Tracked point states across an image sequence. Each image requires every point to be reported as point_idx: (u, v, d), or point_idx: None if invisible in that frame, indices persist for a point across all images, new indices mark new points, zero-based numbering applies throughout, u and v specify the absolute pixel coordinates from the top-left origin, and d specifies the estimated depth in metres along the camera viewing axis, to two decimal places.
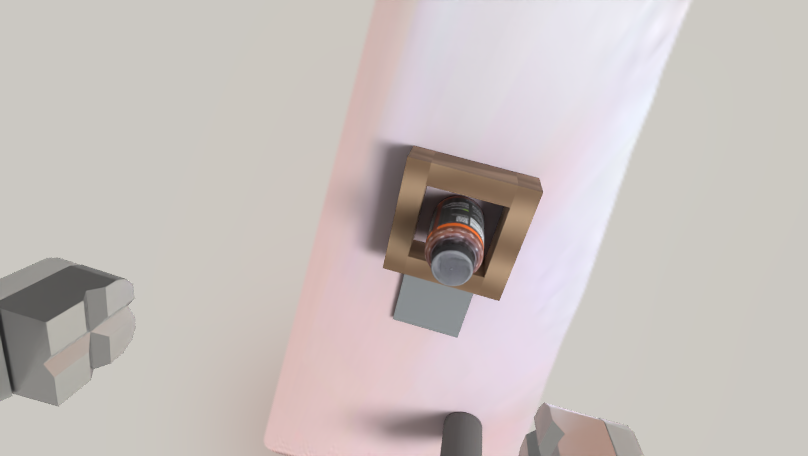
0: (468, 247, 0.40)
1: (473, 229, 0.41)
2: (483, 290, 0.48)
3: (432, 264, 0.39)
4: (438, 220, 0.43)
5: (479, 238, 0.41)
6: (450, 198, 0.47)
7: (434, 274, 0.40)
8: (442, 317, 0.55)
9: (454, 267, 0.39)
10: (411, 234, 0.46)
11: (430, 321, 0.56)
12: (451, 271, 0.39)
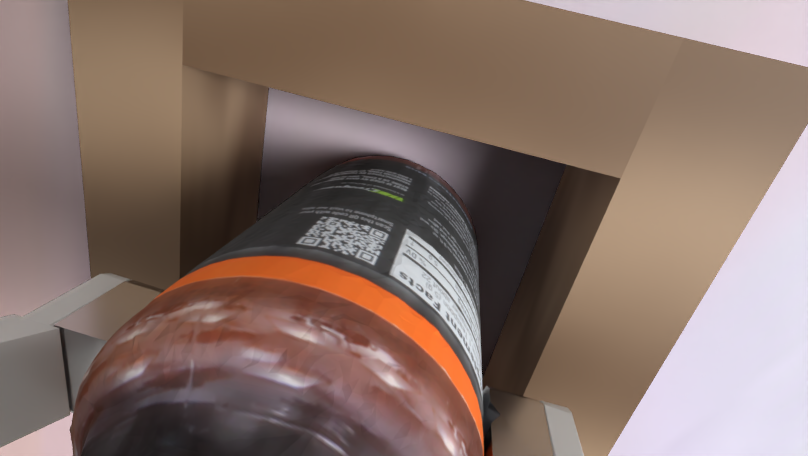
0: None
1: (413, 301, 0.06)
2: None
3: None
4: None
5: (452, 373, 0.05)
6: (345, 163, 0.12)
7: None
8: None
9: None
10: None
11: None
12: None
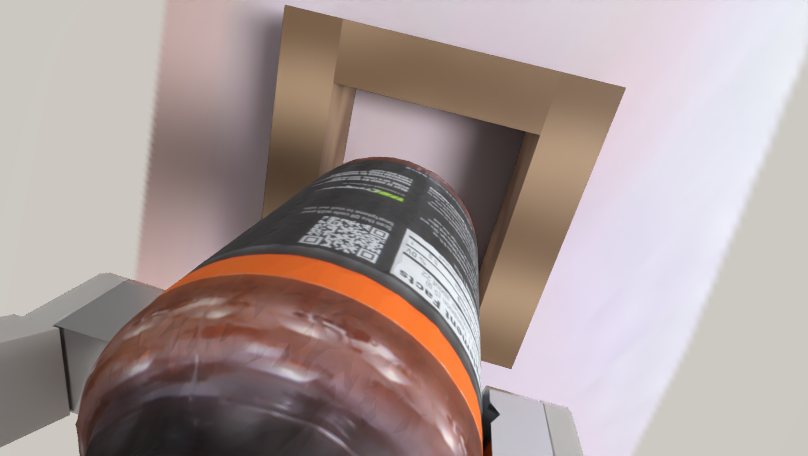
0: None
1: (413, 299, 0.06)
2: None
3: None
4: None
5: (451, 369, 0.06)
6: (346, 164, 0.12)
7: None
8: None
9: None
10: None
11: None
12: None
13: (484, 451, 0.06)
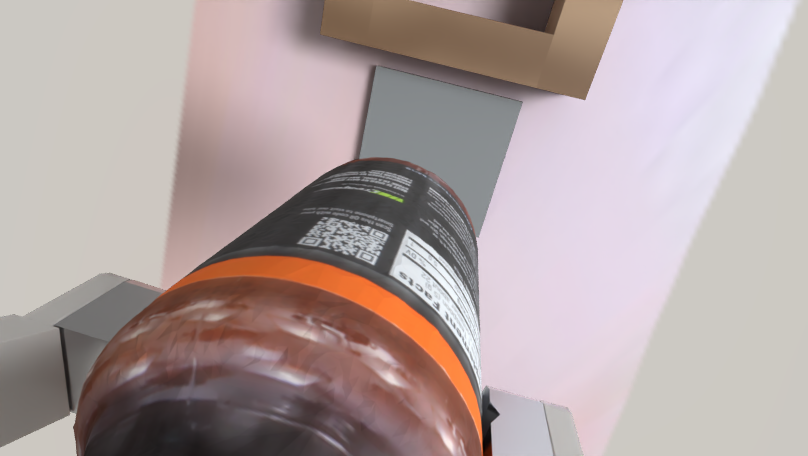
0: None
1: (413, 300, 0.06)
2: (549, 72, 0.21)
3: None
4: None
5: (451, 372, 0.06)
6: (345, 164, 0.12)
7: None
8: None
9: None
10: None
11: None
12: None
13: (484, 451, 0.06)
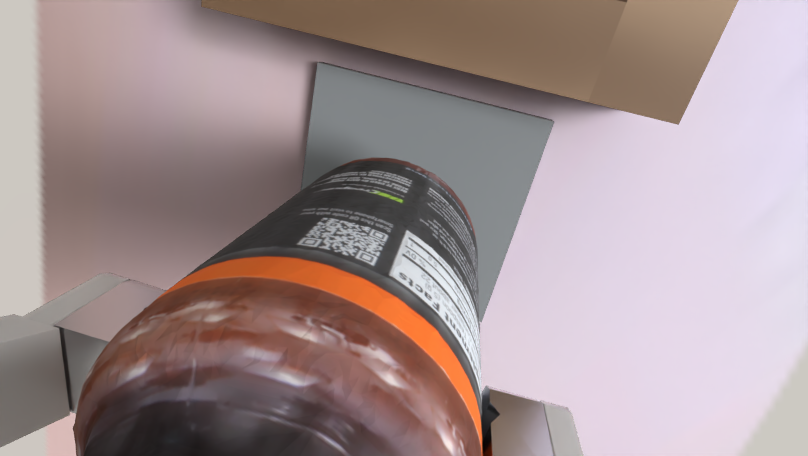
0: None
1: (413, 301, 0.06)
2: (613, 73, 0.11)
3: None
4: None
5: (451, 373, 0.06)
6: (345, 164, 0.12)
7: None
8: None
9: None
10: None
11: None
12: None
13: (484, 451, 0.06)
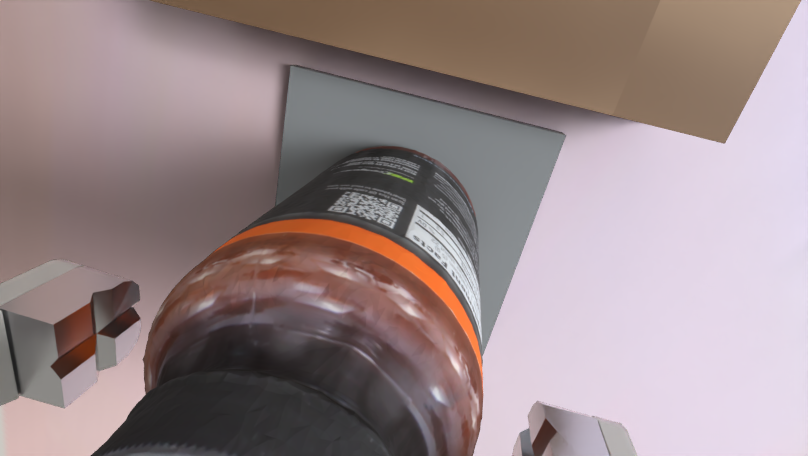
0: (372, 389, 0.05)
1: (425, 257, 0.07)
2: (645, 81, 0.09)
3: None
4: None
5: (457, 314, 0.07)
6: (358, 152, 0.13)
7: None
8: None
9: None
10: None
11: None
12: None
13: None
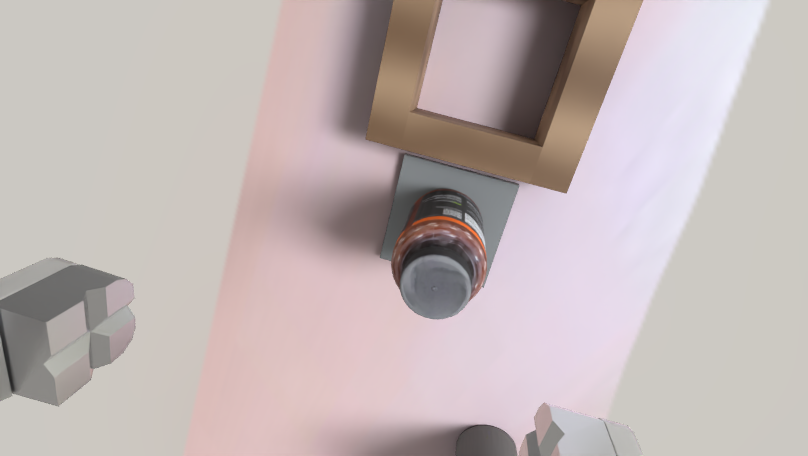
0: (462, 253, 0.24)
1: (471, 227, 0.26)
2: (539, 173, 0.28)
3: (402, 280, 0.23)
4: (414, 216, 0.28)
5: (480, 241, 0.25)
6: (433, 191, 0.32)
7: (405, 298, 0.23)
8: None
9: (439, 285, 0.23)
10: (417, 65, 0.27)
11: None
12: (435, 293, 0.23)
13: None
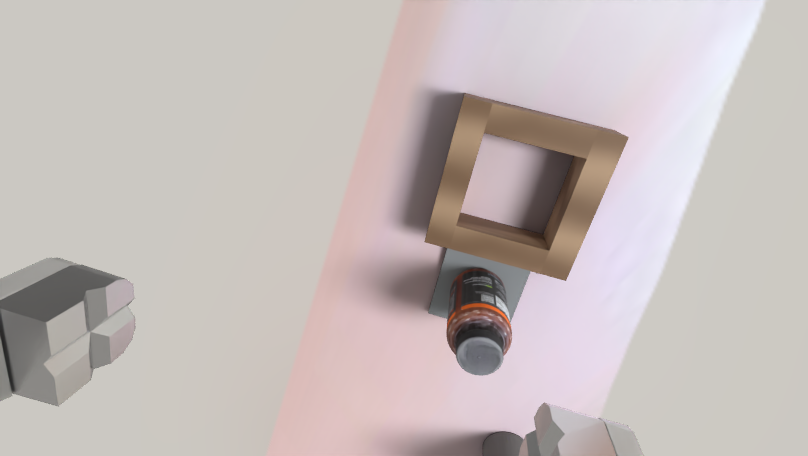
0: (496, 332, 0.36)
1: (500, 310, 0.38)
2: (547, 267, 0.40)
3: (458, 351, 0.35)
4: (460, 297, 0.40)
5: (507, 320, 0.37)
6: (470, 271, 0.44)
7: (460, 362, 0.36)
8: None
9: (482, 355, 0.35)
10: (462, 197, 0.39)
11: None
12: (479, 360, 0.35)
13: None
